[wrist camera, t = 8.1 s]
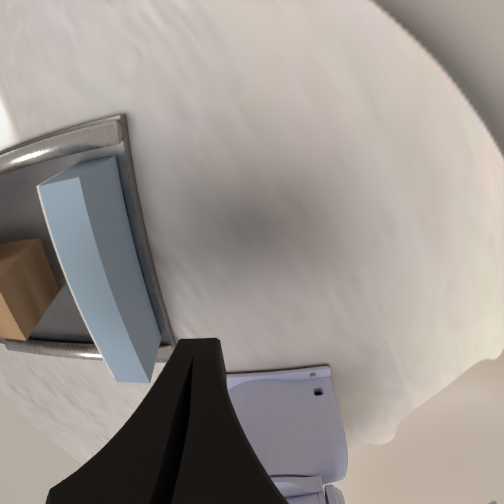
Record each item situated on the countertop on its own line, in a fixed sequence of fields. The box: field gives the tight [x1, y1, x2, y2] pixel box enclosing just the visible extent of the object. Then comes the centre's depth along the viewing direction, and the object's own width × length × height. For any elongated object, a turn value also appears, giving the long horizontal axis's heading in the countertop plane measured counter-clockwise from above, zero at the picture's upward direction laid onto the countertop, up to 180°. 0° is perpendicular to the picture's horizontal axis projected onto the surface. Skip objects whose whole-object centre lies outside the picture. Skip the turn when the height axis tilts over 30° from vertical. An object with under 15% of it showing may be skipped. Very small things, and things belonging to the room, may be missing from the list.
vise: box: [0, 114, 176, 363], centre depth 15 cm, size 20×16×5 cm
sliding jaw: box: [36, 156, 161, 383], centre depth 15 cm, size 2×12×4 cm, turn 4°
